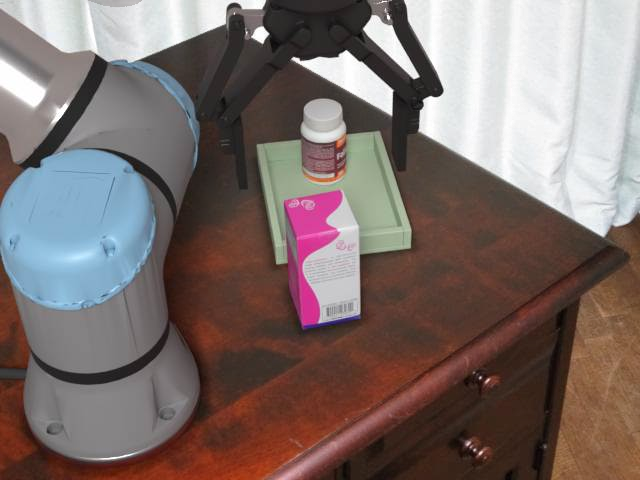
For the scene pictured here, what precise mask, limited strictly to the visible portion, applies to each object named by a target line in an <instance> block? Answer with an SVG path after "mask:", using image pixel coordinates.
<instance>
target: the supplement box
mask: <svg viewBox="0 0 640 480" xmlns="http://www.w3.org/2000/svg"><path fill="white" fill-rule="evenodd" d="M284 216H285V230H286V245H287V260H288V263H287V273H288V289H289V294H290V296H291V299H292V302H293V306H294V308H295V312H296V315H297V317H298V321H299V323H300V327H301V328H302V330H310V329H311V330H312V329H314V328H320V327H324V326H325V327H326V326H331V325H334V324H335V325H336V324H341V323H344V322H345V323H346V322H350V321H355V320H360V319H361V308H362V307H361V254H360V241H359V239H360V238H359V225H358V223H357V221H356V219H355V216H354V214H353V212H352V210H351V208H350V205H349V203H348V201H347V199H346V197H345V194H344V192H343V190H337V191H332V192H326V193H321V194H316V195H311V196H305V197H300V198H294V199H289V200H284Z"/></svg>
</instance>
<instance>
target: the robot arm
mask: <svg viewBox="0 0 640 480" xmlns="http://www.w3.org/2000/svg"><path fill="white" fill-rule="evenodd" d="M242 7H243V6H241V4H240V3H238V2H236V1H235V2H234V1H233V2H230V3H229V4H228V5H227V6H226V9H225V11H226V12H225V28H224V31H223V33H222V35H221V38H220V40H219V41H218V44H217V46H216V48H215V50H214V52H213V55H212V57H211V60H210V61H209V63H208V65H207V68H206V70H205V72H204V74H203V76H202V78H201V81H200V83H199V85H198V87H197V89H196V92H195V94H194V95H193V100H192V99H191V97H190V95H189V94H188V92H187V90H186V89H185V88H184V87H183V86H182V84H181V83H180V82H179V81H178V80H176V79H175V78H174V76H172V75H170V73H168V72H167V71H166V70H165V71H164V70H163V69H161V68H160V67H158V66H157V65H154V64H151V63H149V62H145V61H142V60H138V59H136V60H135V61H134V62H133V61H131V62H129V61H128V60H127V59H115V60H111V61H107V60H106V59H105V58H103V57H102V56H100V55H99V54H97V53H96V52H95V51H93V50H92V49H87V50H81V51H74V52H65V51H62V50H60V49H58V48H57V47H56V46H54V44H52V43H50V42H49V41H47V40H46V39H45V38H43V37H42V36H40V35H39V34H38V33H36V31H33V30H32V29H31V28H29V27H28V26H27V25H25V24H23V23H22V22H21V21H19V20H17V19H16V18H15V17H13V16H12V15H10V14H9V13H8V12H6V11H5V10H3V9H2V8H1V7H0V134H2V135H4V136H5V138H6V139H7V142H8V146H9V150H10V154H11V159H12V163H14V164H15V165H17V166H18V167H20V168H21V169H23V170H24V171H22V172H21V173H20V174H19V175H18V176H17V177H16V179H15V180H14V181H13V182H12V183H11V184H10V186H9V187H8V189H7V190H6V192H5V194H4V196H3V198H2V201H1V204H0V255H1V261H2V263H3V267H4V270H5V273H6V274H7V276H8V279H9V282H10V285H11V288H12V289H11V290H12V293H13V296H14V299H15V302H16V306H17V309H18V313H19V316H20V319H21V323H22V327H23V330H24V334H25V337H26V341H27V343H28V348H29V351H30V352H29V358H28V363H27V368H17V367H0V380H13V381H14V380H15V381H16V380H18V381H24V385H23V393H22V394H23V395H22V396H23V409H24V415H25V419H26V422H27V425H28V427H29V430H30V433H31V435H32V436H33V438H34V440H35V441H36V442H37V444H39V446H40V447H41V448H42V449H43V450H44V451H45V452H47V453H48V454H50V456H53V457H54V458H56V459H58V460H60V461H62V462H65V463H67V464H69V465H73V466H77V467H81V468H82V467H83V468H88V469H112V468H113V469H114V468H120V467H125V466H131V465H133V464H137V463H139V462H142V461H146V460H147V459H150V458H152V457H154V456H156V455H159V453H161V452H163V451H164V450H166V449H168V447H170V446H172V445H173V444H174V443H175V442H176V441H177V440H178V439H179V438H180V437H181V436H182V435H183V434H184V433H185V432H186V431H187V429H189V427H190V425H191V424H192V422H193V421H194V419H195V417H196V415H197V413H198V410H199V407H200V402H201V396H202V386H201V379H200V373H199V368H198V365H197V363H196V360H195V357H194V355H193V353H192V351H191V349H190V348H189V345H188V343H186V341H185V339H184V337H183V336H182V333H181V332H180V331H179V329H178V328H177V326H176V324H175V323H174V321H172V320H171V319H170V315H169V308H168V303H167V302H168V301H167V296H166V289H165V283H164V265H165V260H166V256H167V253H168V250H169V246H170V242H171V239H172V236H173V231H174V229H175V226H176V223H177V220H178V218H179V217H178V216H179V214H180V211H181V207H182V204H183V201H184V198H185V194H186V191H187V188H188V185H189V182H190V179H191V178H192V176H193V173H194V171H195V169H196V165H197V161H198V153H199V152H198V151H199V142H200V135H201V127H200V126H201V125H200V123H202V124H203V123H204V124H205V123H207V122H214V123H215V124H216V125H217V126H218V137H219V146H220V152H221V153H222V154H223V156H230V155H234V163H235V172H236V173H235V174H236V179H237V185H238V191H242V190H248V189H249V186H248V185H249V184H248V183H249V182H248V172H247V159H246V147H245V137H244V135H245V134H244V125H243V120H242V119H243V118H242V113H243V112H244V111H245V110H246V108H247V107H249V105H250V104H251V103H252V102H253V100H254V99H255V98H256V97H257V96H258V94H259V93H260V92H261V91H262V89H264V87H266V85H267V84H268V83H269V81H270V80H271V79H272V78H273V77H274V76H275V75H276V73H277V72H278V71H282V70H283V69H284V68H285V67H286V66H287V65H288V63H290V62H291V60H292V59H293V58H296V59H299V62H306V61H311V60H314V59H317V58H324V59H325V58H326V59H334V58H335V59H336V58H340V55H342V54H343V53H345V52H346V51H347V52H348V53H349V54H350V55H351V56H352V57H353V58H354V59H356V60H357V62H359V63H362V64H364V65H365V66H366V67H367V68H368V69H369V70H370V71H371V72H372V73H374V74H375V75H376V76H377V77H378V78H379V79H380V81H382V82H384V83H385V85H387V86H388V88H390V89H391V90H392V106H391V107H392V108H391V141H390V143H391V145H390V146H391V147H390V154H391V157H392V160H393V163H394V166H395V169H396V172H397V173H400V172H406V171H407V153H408V135H415V134H418V132H419V130H420V122H421V121H420V118H421V111H422V110H423V108H424V107H425V103H424V100H425V99H427V98H430V97H432V98H440V97H441V96H442V95H443V94H444V92H445V89H444V86H443V84H442V81H441V79H440V77H439V74H438V72H437V69H436V67H435V66H434V65H433V63H432V60H431V58H430V57H429V55H428V54H427V52H426V50H425V48H424V46H423V45H422V43H421V41H420V39H419V38H418V36H417V34H416V32H415V29H414V28H413V27H412V25H411V23H410V21H409V16H408V15H409V14H408V7H407V4H406V1H405V0H265V3H264V5H263V6H262V8H250V9H249V8H244V9H243V8H242ZM372 16H375V17H378V18H379V19H380V21H381V23H382V24H384V25H387V26H392V29H393V31H394V34H395V37H396V38H397V40H398V41H399V44H400V46H401V47H402V49H403V51H404V52H405V54H406V56H407V57H408V59H409V61H410V63H411V64H412V66H413V68H414V69H415V72H416V73H417V75H418V77H416V78H413V77H412V76H411V75H410V74H409V73H408V72H407V71H406V70H405V69H404V68H403V67H402V66H401V65H400V64H399V63H398V62H396V61H395V60H394V59H393V58H392V57H391V56H390V55H389V54H388V53H387V52H386V51H385V50H384V49H383V48H382V47H381V46H379V45H378V44H377V43H376V42H375V41H374V40H373V39H372V38H371V37H370V36H369V35H368V34H367V32H366V31H365V30H364V28H365V27H367V25H368V23H369V22H370V20H371V19H372ZM261 27H263V29H264V30H265V31H266V32H267V33H268V35H267V36H266V37H265V39H264V40H263V43H262V45H261V47H260V48H259V50H258V51H256V54H255V55H254V56H253V57H252V58H251V59H250V61H249V62H248V63H247V64H246V66H245V67H244V68H243V69H242V70H241V71H240V72H239V73H238V75H237V76H236V77H235V78H234V79H233V81H232V82H231V83H230V84H229V86H228V87H227V88H226V86H227V84H228V82H229V80H230V77H231V76H232V73H233V71H234V69H235V67H236V65H237V62H238V60H240V57H241V55H242V52H243V50H244V45H245V41H249V40H251V38H252V37H253V36H254V34H255V32H256V30H257V29H258V28H261ZM225 88H226V89H225Z"/></svg>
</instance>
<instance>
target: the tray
mask: <svg viewBox="0 0 640 480" xmlns="http://www.w3.org/2000/svg"><path fill="white" fill-rule="evenodd" d="M255 146H256V156H257V157H256V159H257V166H258V167H257V168H258V172H259V177H260V178H259V179H260V182H261V183H260V184H261V188H262V189H261V190H262V193H263V198H264V199H263V200H264V204H265V205H264V206H265V210H266V216H267V221H268V226H269V231H270V238H271V244H272V248H273V254H274V259H275V264H276V265H284V264H288V260H287V245H286V230H285V216H284V200H289V199H294V198H300V197H305V196H311V195H316V194H321V193H326V192H332V191H337V190H343V192H344V194H345V197H346V199H347V201H348V203H349V205H350V208H351V210H352V212H353V214H354V216H355V219H356V221H357V223H358V225H359V238H360V239H359V241H360V255H368V254H375V253H385V252H394V251H401V250H409V249H411V248H412V232H413V231H412V226H411V224H410V221H409V218H408V214H407V212H406V208H405V205H404V202H403V199H402V196H401V192H400V189H399V186H398V183H397V180H396V177H395V174H394V169H393V167H392V165H391V161H390V159H389V155H388V153H387V152H388V151H387V149H386V146H385V142H384V140H383V137H382V133H381V131H380V130H375V131H366V132H357V133H356V132H355V133H348V134H347V133H346V175H345V177H344V178H343V179H342V180H341V181H339V182H338V183H335V184H332V185H317V184H313V183H311V182H309V181H308V180H306V179H305V177H304V176H303V172H302V149H301V139H293V140H284V141H275V142H266V143H257V144H256V145H255Z"/></svg>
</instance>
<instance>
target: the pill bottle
mask: <svg viewBox="0 0 640 480" xmlns="http://www.w3.org/2000/svg"><path fill="white" fill-rule="evenodd" d="M343 115H344V113H343V106H342V105H341V103H340V102H338V101H336V100H335V99H331V98H316V99H312V100H310V101H308V102H307V103H306V104H305V105H304V107H303V121H302V122H301V125H300V140H301V149H302V172H303V176H304V177H305V179H306V180H308V181H309V182H311V183H313V184H317V185H332V184H335V183H338V182H339V181H341V180H342V179H343V178H344V177H345V175H346V135H347V125H346V122H345V121H344V119H343V118H344V116H343Z"/></svg>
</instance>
